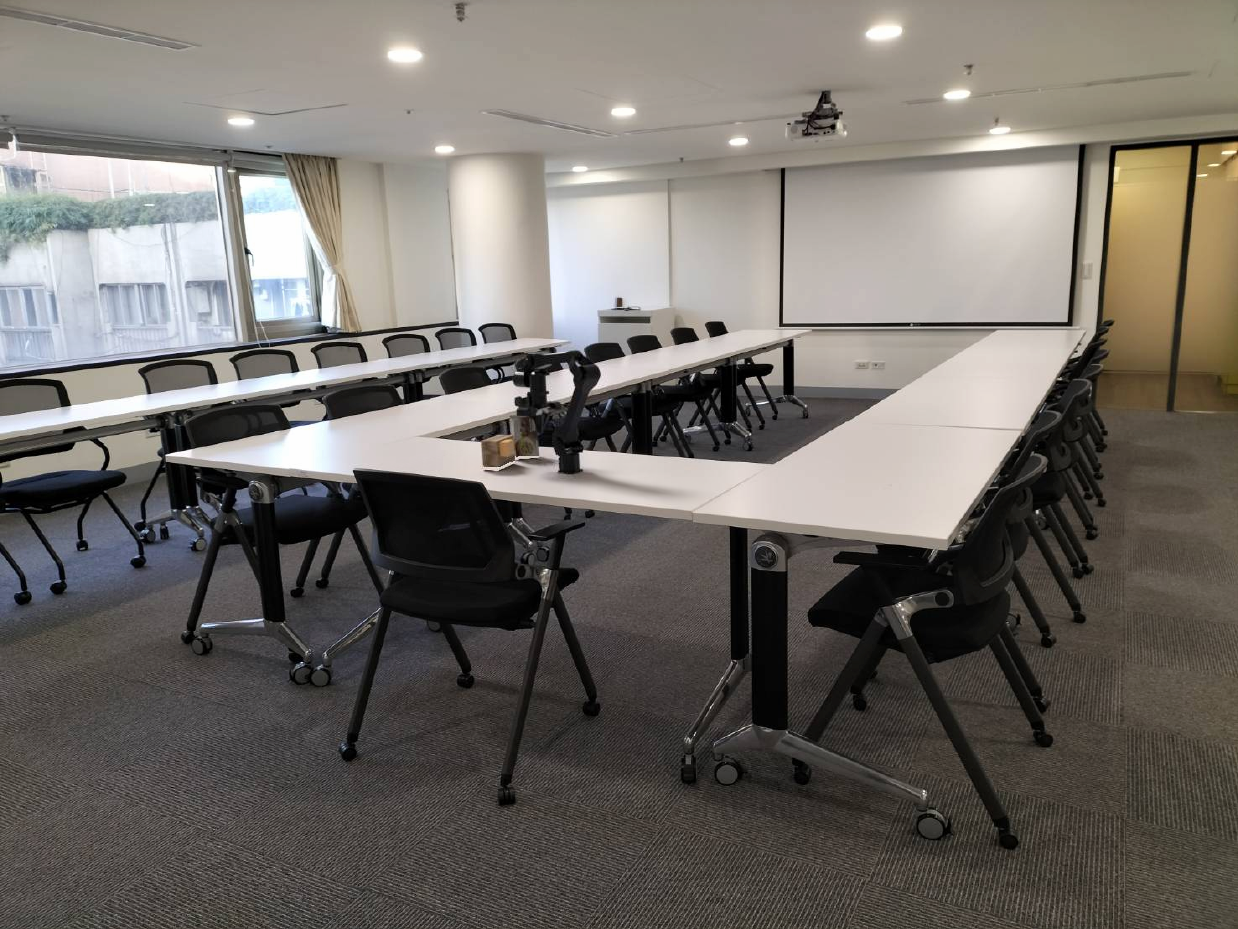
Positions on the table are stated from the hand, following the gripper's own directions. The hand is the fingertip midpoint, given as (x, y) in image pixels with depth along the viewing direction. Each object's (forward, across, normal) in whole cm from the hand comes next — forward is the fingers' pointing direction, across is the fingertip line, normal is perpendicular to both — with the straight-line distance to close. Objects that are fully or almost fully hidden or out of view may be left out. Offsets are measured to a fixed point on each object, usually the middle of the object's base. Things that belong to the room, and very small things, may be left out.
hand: (540, 433), depth 305 cm
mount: (+12, +6, -14) cm, 20 cm away
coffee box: (+12, -11, -16) cm, 23 cm away
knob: (+7, +8, -11) cm, 15 cm away
